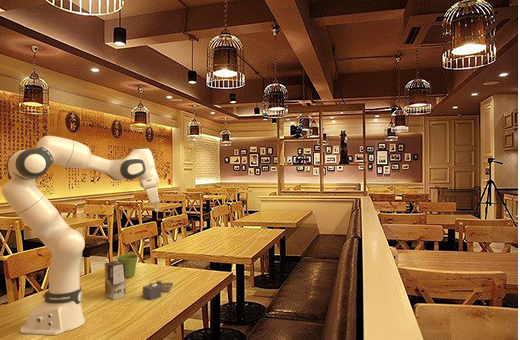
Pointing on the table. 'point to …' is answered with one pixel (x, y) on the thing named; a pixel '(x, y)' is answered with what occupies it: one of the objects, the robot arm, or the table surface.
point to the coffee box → (115, 280)
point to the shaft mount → (163, 286)
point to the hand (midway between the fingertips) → (156, 208)
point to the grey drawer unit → (151, 291)
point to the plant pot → (129, 263)
